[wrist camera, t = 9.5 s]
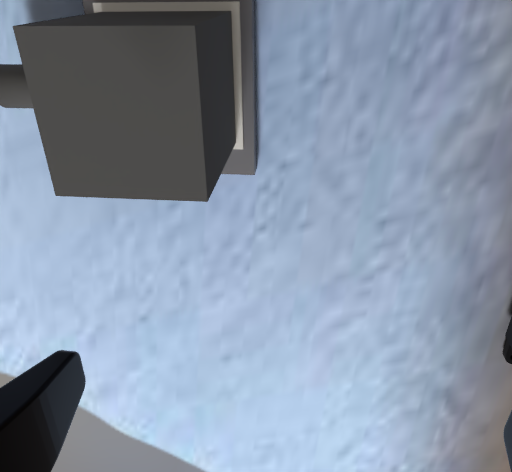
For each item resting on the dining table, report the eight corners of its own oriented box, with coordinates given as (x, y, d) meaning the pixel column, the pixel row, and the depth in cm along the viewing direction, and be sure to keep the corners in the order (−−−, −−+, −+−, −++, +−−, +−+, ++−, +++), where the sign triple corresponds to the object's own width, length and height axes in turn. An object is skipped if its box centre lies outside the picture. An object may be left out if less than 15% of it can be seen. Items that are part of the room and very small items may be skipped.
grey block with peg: (232, 10, 17) (194, 25, 12) (236, 141, 19) (207, 201, 14) (10, 12, 18) (-116, 26, 13) (41, 136, 20) (-53, 191, 15)
